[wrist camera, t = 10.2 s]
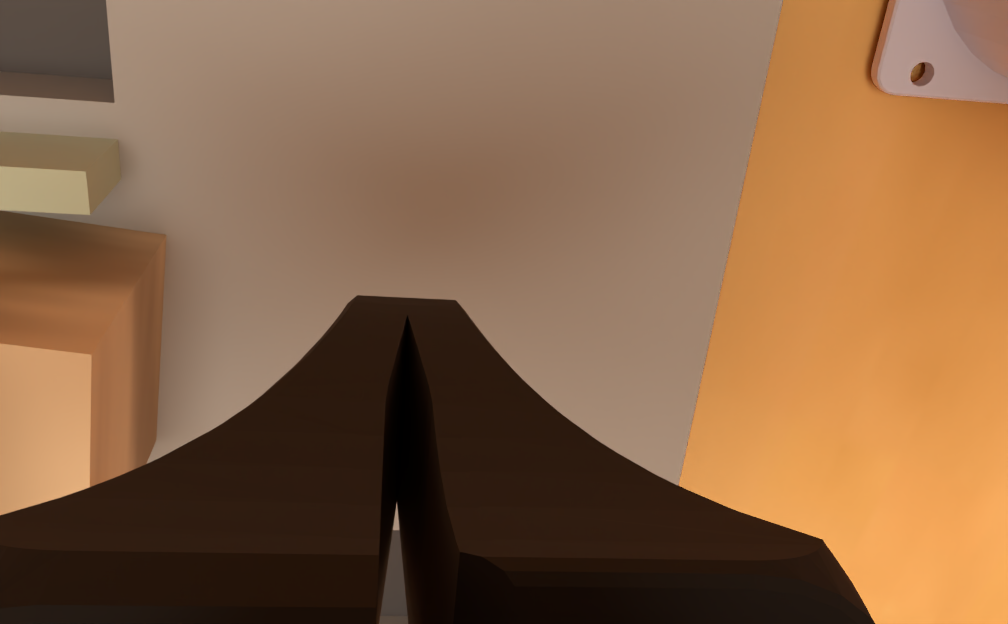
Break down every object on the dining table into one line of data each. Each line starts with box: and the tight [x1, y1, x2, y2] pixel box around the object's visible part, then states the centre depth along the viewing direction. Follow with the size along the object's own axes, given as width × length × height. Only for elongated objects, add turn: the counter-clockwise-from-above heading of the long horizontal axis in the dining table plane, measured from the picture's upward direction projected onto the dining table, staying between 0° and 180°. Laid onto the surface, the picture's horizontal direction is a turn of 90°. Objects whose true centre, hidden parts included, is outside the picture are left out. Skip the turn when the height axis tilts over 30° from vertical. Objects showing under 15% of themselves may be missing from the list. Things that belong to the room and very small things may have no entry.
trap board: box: [0, 0, 783, 624], centre depth 20 cm, size 18×20×4 cm
